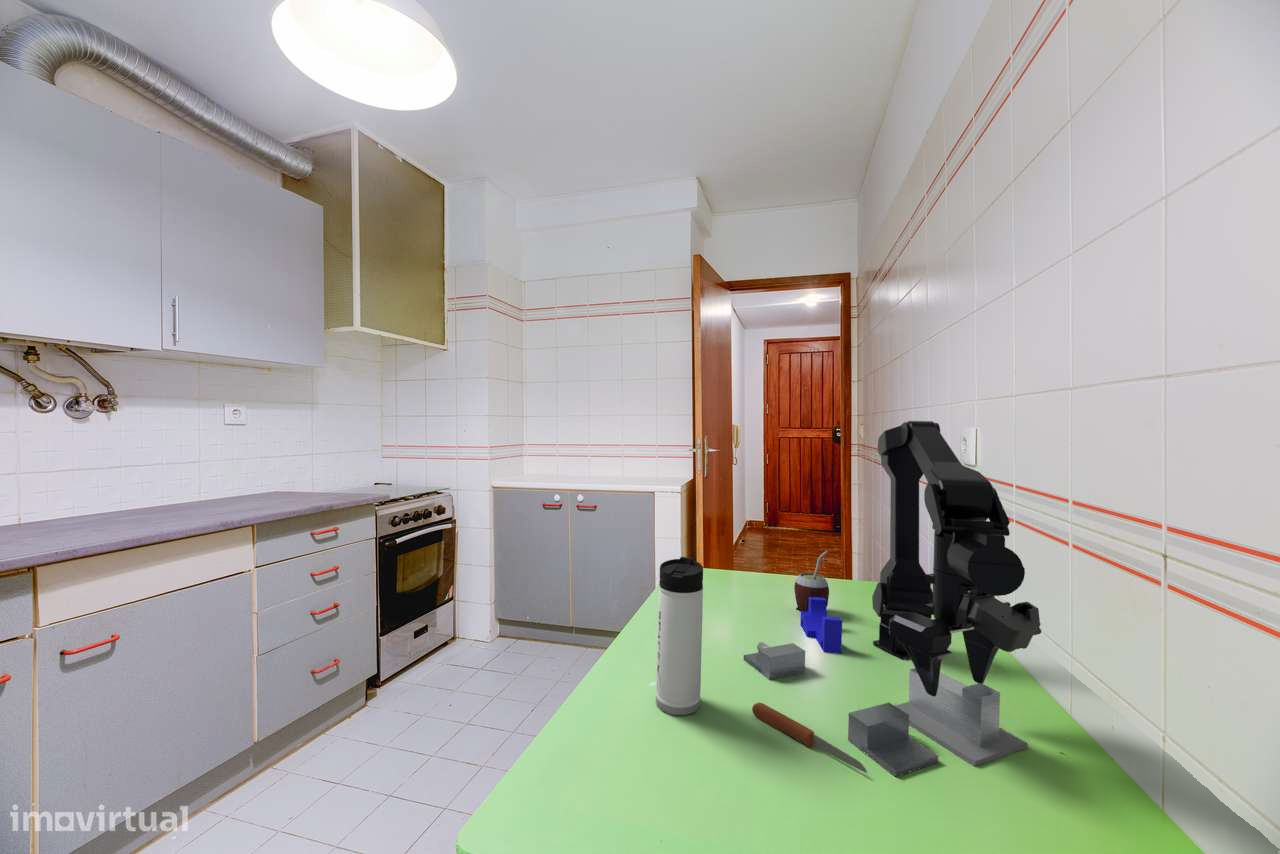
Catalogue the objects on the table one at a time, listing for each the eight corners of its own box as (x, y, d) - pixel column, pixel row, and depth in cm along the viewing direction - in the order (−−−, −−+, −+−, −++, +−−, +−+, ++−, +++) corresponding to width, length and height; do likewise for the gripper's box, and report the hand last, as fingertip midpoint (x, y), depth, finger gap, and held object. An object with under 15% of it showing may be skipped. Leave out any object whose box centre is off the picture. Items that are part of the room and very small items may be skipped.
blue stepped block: (800, 626, 100) (801, 596, 100) (823, 627, 99) (824, 597, 99) (815, 652, 88) (816, 618, 88) (841, 654, 87) (842, 620, 87)
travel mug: (704, 695, 72) (708, 559, 72) (694, 720, 66) (698, 571, 66) (663, 687, 74) (667, 554, 74) (650, 710, 68) (653, 565, 68)
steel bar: (926, 700, 71) (927, 657, 71) (998, 741, 62) (999, 692, 62) (908, 704, 70) (909, 661, 70) (980, 747, 61) (981, 697, 61)
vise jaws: (777, 653, 86) (777, 633, 86) (938, 762, 59) (938, 733, 59) (743, 659, 84) (744, 639, 84) (895, 777, 56) (896, 746, 56)
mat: (937, 698, 73) (937, 694, 73) (1027, 747, 62) (1027, 742, 62) (888, 711, 69) (888, 707, 69) (974, 766, 58) (974, 761, 58)
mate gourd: (799, 605, 111) (801, 538, 111) (836, 613, 107) (838, 544, 107) (788, 614, 105) (790, 544, 105) (826, 624, 100) (828, 550, 101)
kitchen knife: (750, 716, 67) (751, 701, 67) (757, 713, 68) (757, 698, 68) (863, 782, 55) (864, 764, 55) (869, 777, 56) (870, 760, 56)
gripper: (972, 598, 54) (969, 740, 54) (1071, 582, 62) (1068, 707, 62) (887, 570, 65) (884, 689, 65) (980, 559, 72) (978, 666, 72)
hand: (955, 688), depth 65 cm, fingers open, 9 cm apart
